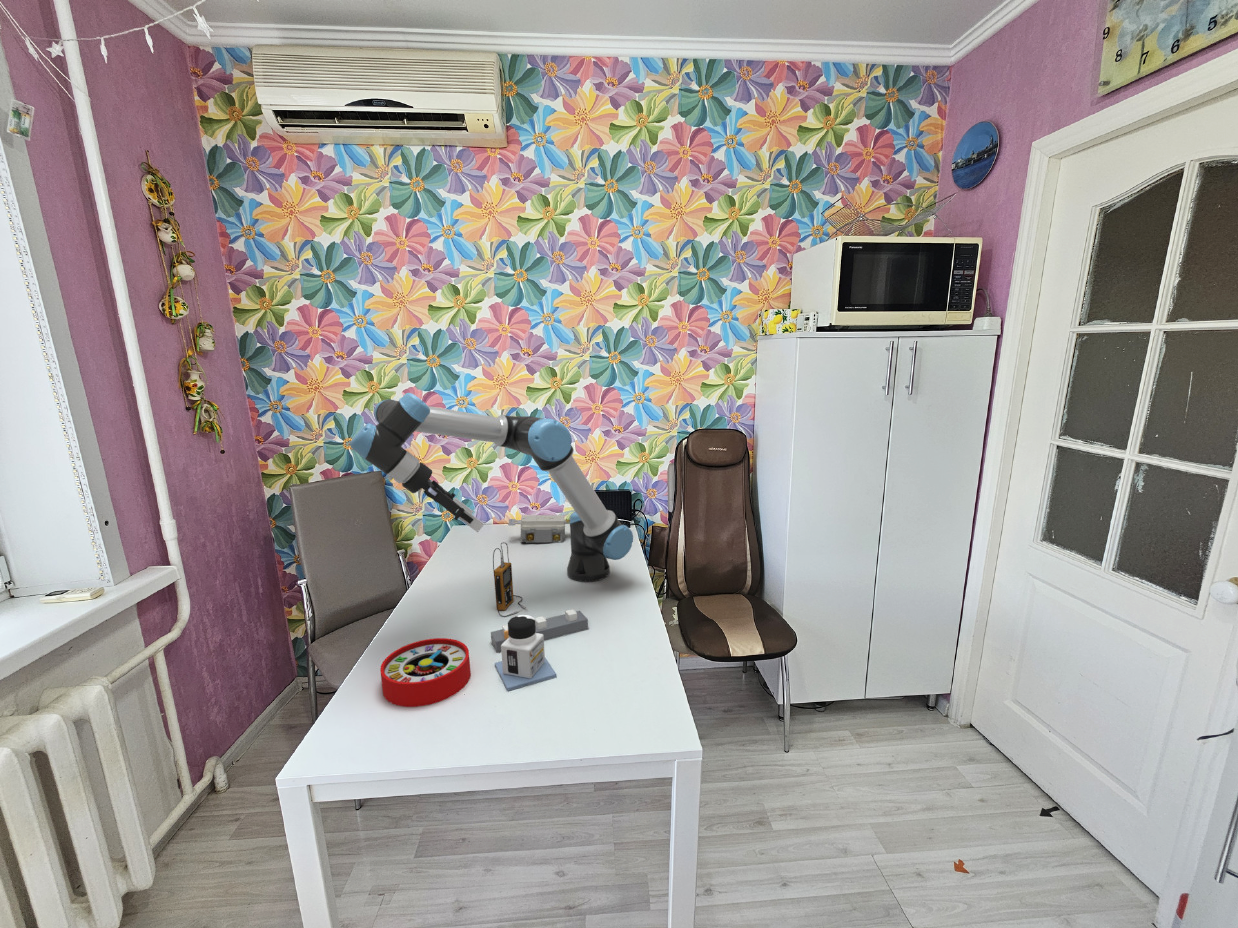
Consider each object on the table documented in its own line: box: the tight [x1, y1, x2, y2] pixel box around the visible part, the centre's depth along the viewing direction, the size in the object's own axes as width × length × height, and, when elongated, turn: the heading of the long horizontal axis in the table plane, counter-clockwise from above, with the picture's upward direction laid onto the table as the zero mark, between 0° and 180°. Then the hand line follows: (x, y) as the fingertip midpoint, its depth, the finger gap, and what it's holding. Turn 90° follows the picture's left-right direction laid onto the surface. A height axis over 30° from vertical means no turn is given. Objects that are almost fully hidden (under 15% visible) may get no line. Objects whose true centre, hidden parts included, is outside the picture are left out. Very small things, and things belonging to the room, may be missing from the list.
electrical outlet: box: [507, 514, 570, 544], centre depth 229 cm, size 12×28×10 cm, turn 99°
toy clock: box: [379, 637, 472, 708], centre depth 129 cm, size 20×6×20 cm
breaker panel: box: [490, 608, 589, 653], centre depth 149 cm, size 26×6×5 cm, turn 116°
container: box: [500, 614, 546, 678], centre depth 131 cm, size 8×8×13 cm
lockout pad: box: [494, 657, 558, 692], centre depth 133 cm, size 12×12×1 cm
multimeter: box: [492, 541, 528, 618], centre depth 166 cm, size 15×10×20 cm
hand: (475, 521), depth 146 cm, fingers open, 13 cm apart
